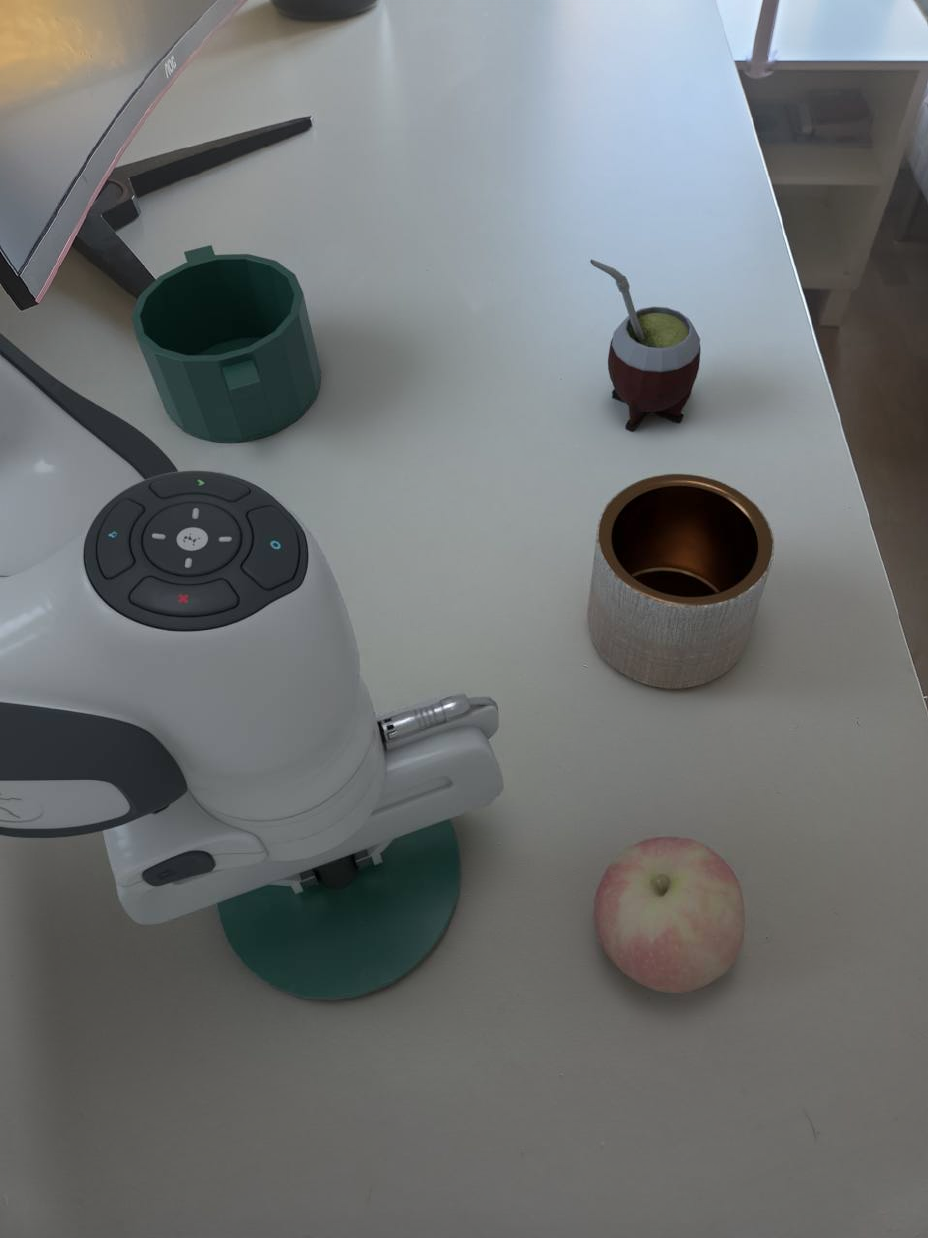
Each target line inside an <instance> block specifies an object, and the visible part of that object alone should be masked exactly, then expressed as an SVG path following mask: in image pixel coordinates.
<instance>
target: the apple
mask: <svg viewBox="0 0 928 1238" xmlns="http://www.w3.org/2000/svg"><path fill="white" fill-rule="evenodd" d="M593 920H594V928H595V932H596V935H597V938H598V941H599V943H600V945H601V947H602V949H603V950H604V951H605V953H606V955H607V956H608V958H609V959H610V960H611V961H612V963H613V964H614V965H615V966H616V967H617V968H618V969H619V970H620V971H621V972H622V973H624V974H625V975H626V976H628V977H629V978H631V979H632V980H633V981H635V982H636V983H638V984H640V985H642V986H644V987H647V988H648V989H651V990H654V991H657V992H661V993H667V994H685V993H690V992H693V991H696V990H699V989H701V988H704V987H705V986H708V985H709V984H710V983H712V982H713V981H715V980H717V979H719V978H720V977H722V976H723V975H724V974H725V973H727V972H728V971H729V970H730V969H731V968H732V966H733V965H734V964H735V962H736V960H737V958H738V956H739V954H740V951H741V948H742V944H743V941H744V937H745V931H746V910H745V903H744V897H743V891H742V888H741V885H740V882H739V879H738V877H737V876H736V874H735V872H734V871H733V869H732V868H731V866H730V865H729V864H728V863H727V862H726V860H725V859H724V858H723V857H721V856H720V855H719V853H717V852H716V851H715V850H713V849H712V848H710V847H709V846H708V845H706V844H704V843H702V842H700V841H697V840H694V839H691V838H687V837H685V836H684V837H683V836H658V837H654V838H648V839H644V840H641V841H639V842H637V843H635V844H633V845H631V846H630V847H628V848H626V849H625V850H624V851H622V852H621V853H619V855H617V856H616V857H615V858H614V859H613V860H612V861H611V863H610V864H609V865H608V867H607V868H606V870H605V871H604V873H603V874H602V877H601V879H600V881H599V882H598V886H597V889H596V893H595V896H594V904H593Z"/></svg>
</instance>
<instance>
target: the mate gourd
mask: <svg viewBox="0 0 928 1238" xmlns="http://www.w3.org/2000/svg"><path fill="white" fill-rule="evenodd" d="M589 261H590V262H589V263H590V264H591V265H592V266H593V267H594V268H597V269H599V270H601V271H602V272H604V273H606V274H607V275H609V276H610V277H612V279H614V280H615V285H616V287H617V289H618V292H619V293H621V295H622V298H623V303H624V305H625V308H626V311H627V314H628V315H627V317H626V318H625V319H624V320H622V322H621V323H620V324H619V325H618V327H617V328H616V329H615V330H614V331H613V335H612V337H611V340H610V344H609V349H608V356H607V369H608V374H609V378H610V380H611V383H612V385H613V387H614V388H613V389H612V391H611V398H612V399H614V400H616V401H619V402H621V403H624V404H626V406H627V407H628V412H629V413H628V415H629V416H628V417H629V419H628V421H627V422H626V424H625V429H626V430H627V431H629V432H635V431H636V430H637V429H638V427H639V426H640V425H641V424H642V422H643V421H644V420H645V418H646V417H647V416H648V415H649V414H652V415H655V416H658V417H660V418H662V419H666V420H667V421H671V422H673V423H676V424H680V423H681V422H682V421H683V419H684V417H685V414H684V413H683V412H682V411H683V409H684V407H685V406H686V404H687V403H688V401H689V399H690V398H691V394H692V391H693V387H694V385H695V382H696V379H697V376H698V373H699V370H700V362H701V350H702V349H701V338H700V336H699V334H698V332H697V330H696V328H695V326H694V324H693V322H692V321H691V320H690V318H688V317H687V316H685V315H684V314H683V313H682V312H680V310H679V311H678V310H675V309H673V308H670V307H668V306H667V307H664V306H649V307H648V306H647V307H644V308H639V309H637V310H636V309H635V305H634V302H633V299H632V296H631V295H632V294H631V292H630V288H631V287H630V283H629V280H628V279H627V277H626V276H625V275H623V273H621V272H620V271H619V270H617V268H614V267H612V266H609V265H607V264H604V263H602V262H599V261H597V260H594V259H590V260H589Z"/></svg>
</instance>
